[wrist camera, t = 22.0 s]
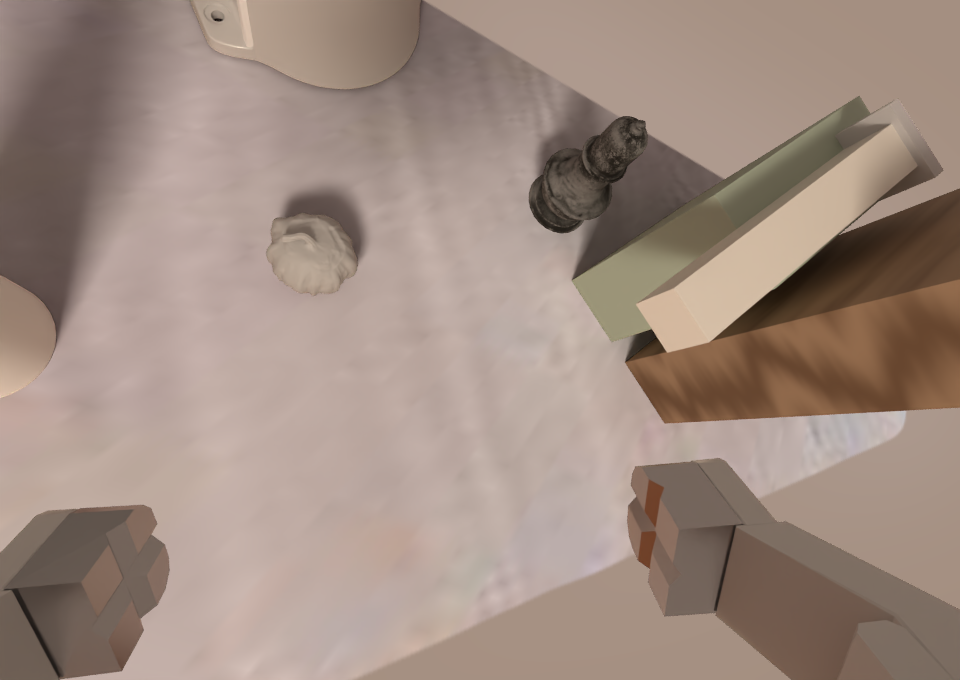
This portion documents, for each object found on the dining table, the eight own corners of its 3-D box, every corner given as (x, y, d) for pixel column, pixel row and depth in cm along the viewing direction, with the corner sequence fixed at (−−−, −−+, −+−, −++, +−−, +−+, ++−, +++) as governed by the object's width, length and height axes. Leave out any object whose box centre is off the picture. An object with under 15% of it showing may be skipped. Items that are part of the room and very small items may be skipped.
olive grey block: (571, 280, 43) (714, 194, 28) (688, 202, 49) (859, 95, 34) (611, 342, 43) (774, 289, 28) (723, 257, 49) (909, 175, 34)
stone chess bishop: (514, 211, 43) (589, 129, 32) (542, 157, 45) (623, 60, 33) (573, 249, 44) (666, 183, 33) (598, 195, 46) (695, 114, 34)
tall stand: (625, 362, 43) (1034, 260, 19) (735, 275, 49) (1162, 109, 25) (664, 423, 44) (1121, 398, 19) (770, 329, 49) (1229, 218, 25)
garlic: (250, 278, 35) (241, 252, 31) (288, 213, 37) (286, 178, 32) (334, 318, 37) (339, 299, 32) (367, 253, 38) (377, 225, 33)
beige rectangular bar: (624, 286, 25) (667, 265, 22) (843, 129, 33) (898, 97, 30) (678, 370, 25) (728, 360, 23) (885, 195, 33) (943, 170, 30)
